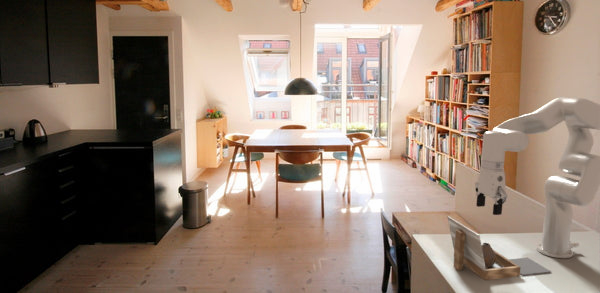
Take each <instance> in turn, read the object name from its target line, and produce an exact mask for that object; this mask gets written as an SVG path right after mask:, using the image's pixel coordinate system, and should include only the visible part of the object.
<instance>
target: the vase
mask: <svg viewBox="0 0 600 293" xmlns="http://www.w3.org/2000/svg"><path fill="white" fill-rule="evenodd" d="M481 245H482V251H483V256H484V262H485V267H486V269H491V268H492V267H493V266H494V265H495V263H496V262H495V260H496V255H495V252H494V251H495V250H494V248H492V245H491V243H489V242H483V243H482V244H481Z"/></svg>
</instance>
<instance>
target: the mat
mask: <svg viewBox="0 0 600 293" xmlns="http://www.w3.org/2000/svg"><path fill="white" fill-rule="evenodd" d="M508 259H509V258H508ZM509 260H510V261H512V262H513V263H515V264H517V265H518V266H520V267H521V268H520V276H522V277H524V276H532V275H540V274H541V275H542V274H551V273H552V270H550V269H549V268H546V267H545V266H543V265H541V264H539V263H538V262H536V261H534V260H533V259H531V258H529V257H520V258H518V257H517V258H511V259H509Z"/></svg>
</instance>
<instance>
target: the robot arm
mask: <svg viewBox="0 0 600 293" xmlns="http://www.w3.org/2000/svg"><path fill="white" fill-rule="evenodd" d="M562 122H564V123H565V125H566V128H567V132H568V138H567V142H566V144H565V146H564V149H563V151H562V154H561V156H560V158H559V161H558V165H557V166H558V169H559V170H560V171H561V172H562V173H564V174H568V175H571V176H575V177H579V179H575V178H571V177H568V176H564V175H559V174H558V175H551V176H549V177H548V178H547V179H545V182H544V186H543V191H544V197H545V198H544V200H545V206H544V217H543V225H542V226H543V227H542V236H541V243H539V244H537V245H536V250H537V251H538V252H539V253H540V254H542V255H545V256H548V257H552V258H557V259H570V258H572V257H574V251H572V249H573V248H579V246H580V244H579V242H576V241H575V242H572V241H571V232H572V223H573V215H574V213H573V212H574V211H573V207H572V206H573V205H574V206H577V207H588V206H590V205H591V204H592V203H593V201H594V199H595V198H596V196H597V194H598V193H597V192H598V191H599V188H600V155H597V154H593V153H591V151H592V148H593V146H594V136H593V134H592V131H591V130H599V131H600V103H597V102H595V101H593V100H589V99H587V98H583V97H570V96H569V97H567V96H561V97H557V98H556V97H555V99H552V100H550V101H549V102H548V103H546V104H544V105H542V106H541V107H540V108H538V109H536V110H534V111H532V112H530V113H527V114H523V115H521V116H517V117H513V118H510V119H508V120H505V121H503V122H502V123H500V124H498V125H497V126H495V127H494V128H493V129H492V130H488V131H485V132H484V133H483V134H482V149H481V162H480V169H479V173H478V180H477V181H476V182H474V187H475V192H476V193H475V196H476V207H478V208H479V207H485V205H486V197H489V198H491V199H492V200H493V202H494V203H493V207H492V208H493V209H492V215H493V216H499V215H500V216H501V215H502V212H503V205H504V203H505V202H506V201H507V198H508V196H509V195H508V194H507V192H506V172H505V169H504V166H505V155H506V154H505V153H506V152H515V153H516V152H521V151H524V150H526V149H527V148H528V146H529V144H530V138H529V137H528V135H535V134H542V133H546V132H548V131H550V130H551V129H553V128H555V127H557V126H558V125H559V124H561V123H562ZM590 129H591V130H590Z"/></svg>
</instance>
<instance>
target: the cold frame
mask: <svg viewBox="0 0 600 293" xmlns="http://www.w3.org/2000/svg"><path fill="white" fill-rule="evenodd" d="M446 217H447V218H446V219H447V222H448V227H449V232H450V236H451V241H452V247H453V268H454V269H456V270H457V271H463V270H464V266H465V267H467V268H468V269H470V270H471V271H472V272H473V273H475V274H476V275H478V276H479V277H480V278H481V279H483V280H484V281H488V280H489V281H490V280H498V279H507V278H508V279H509V278H514V277H520V276H521V275H520V268H521V267H520V266H518V265H517V264H515V263H513V262H512V261H510V260H509V258H507V257H505V256H504V255H502V254H501V253H499V252H498V251H495V250H494V252H495V255H496V260H495V263H497V264H498V265H499V266H501V267H495V268H486V267H485V262H484V256H483V251H482V245H483V244H482V242H481V241H482V240H481V237H480V234H479V233H477V232H476V231H474V230H472V229H471V228H469V227H467V226H466V225H464V224H462V223H461V222H460V221H457V220H456V219H454V218H453V217H451V216H449V215H448V216H446Z"/></svg>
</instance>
